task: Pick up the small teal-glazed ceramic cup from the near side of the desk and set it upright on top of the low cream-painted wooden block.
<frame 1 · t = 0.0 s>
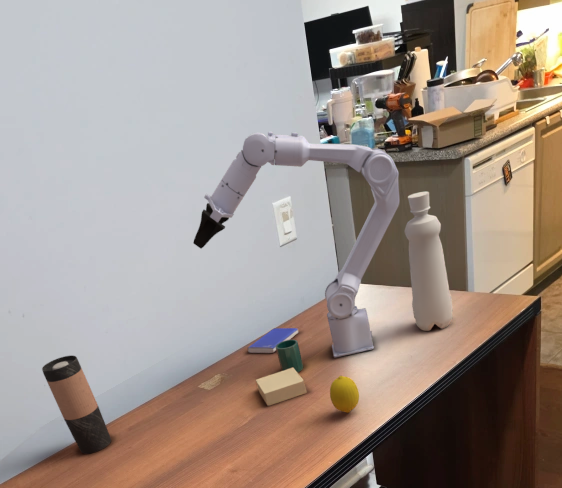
hand: (199, 241, 144), 32 cm above the table, tool tilted 50°, fingers open, 7 cm apart
bottle: (434, 325, 156), on the table
blue book: (274, 343, 173), on the table
block: (282, 392, 144), on the table
lemon: (348, 413, 129), on the table
travel mug: (96, 446, 144), on the table
cup: (292, 369, 154), on the table
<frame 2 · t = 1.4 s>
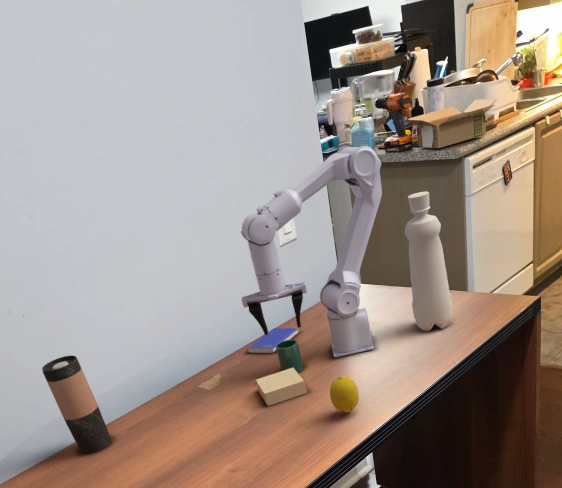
hand: (282, 329, 149), 10 cm above the table, tool pointing down, fingers open, 7 cm apart
nothing on the table moved.
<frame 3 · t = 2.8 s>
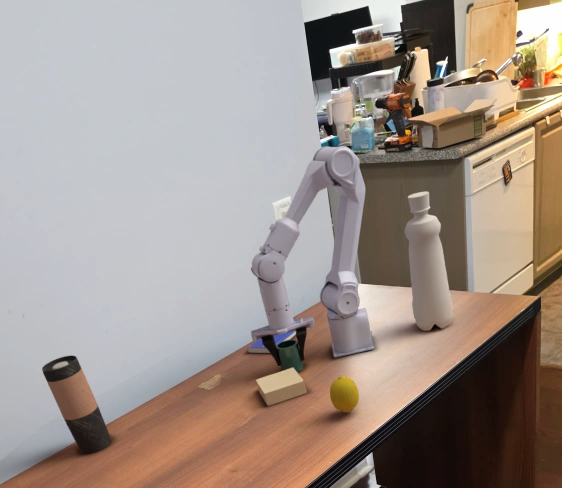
hand: (291, 361, 153), 2 cm above the table, tool pointing down, fingers closed on cup, 5 cm apart
cup: (293, 369, 154), on the table, touching gripper
everything else where it was.
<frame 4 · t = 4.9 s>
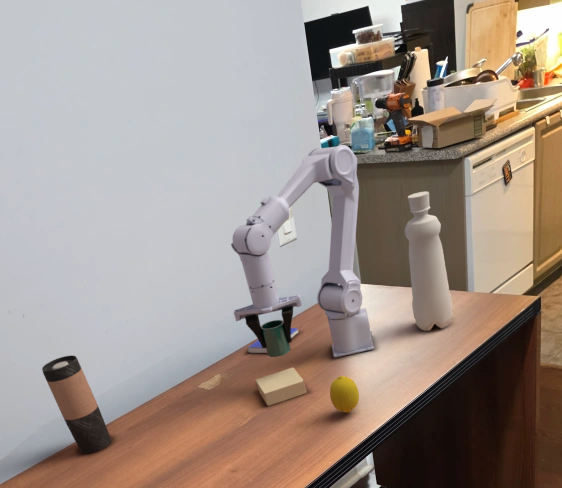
hand: (276, 343, 144), 9 cm above the table, tool pointing down, fingers closed on cup, 5 cm apart
cup: (279, 352, 145), point 7 cm above the table, touching gripper
everything else where it was.
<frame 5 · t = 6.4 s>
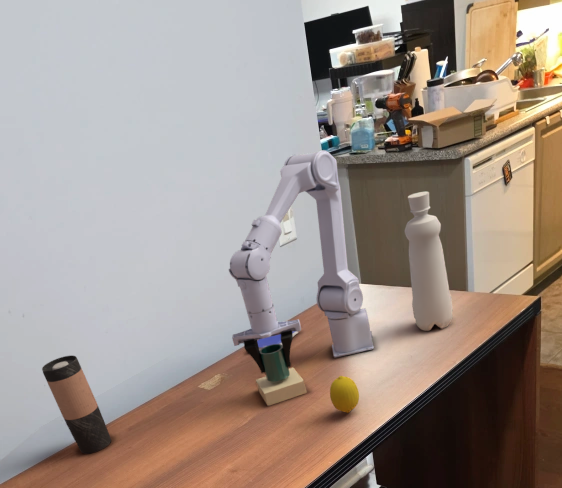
hand: (275, 368, 141), 6 cm above the table, tool pointing down, fingers closed on cup, 5 cm apart
cup: (278, 376, 142), point 4 cm above the table, touching gripper
everything else where it was.
when the fingers open (5 cm above the table, at t = 7.2 s): cup stays where it is, resting on block.
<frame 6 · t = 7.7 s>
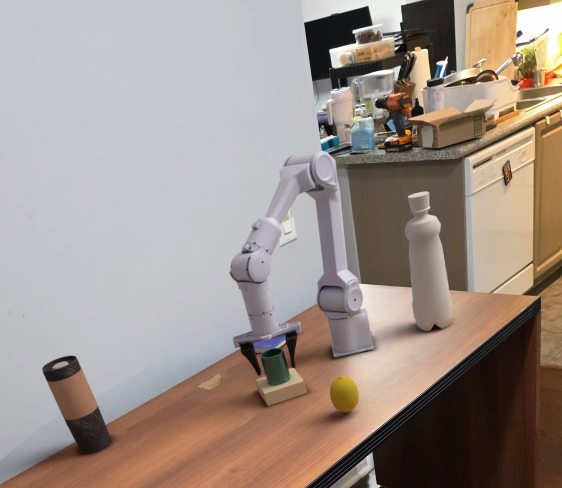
hand: (276, 370, 142), 5 cm above the table, tool pointing down, fingers open, 7 cm apart
block: (282, 392, 144), on the table, touching cup
cup: (279, 380, 143), point 3 cm above the table, touching block
everything else where it was.
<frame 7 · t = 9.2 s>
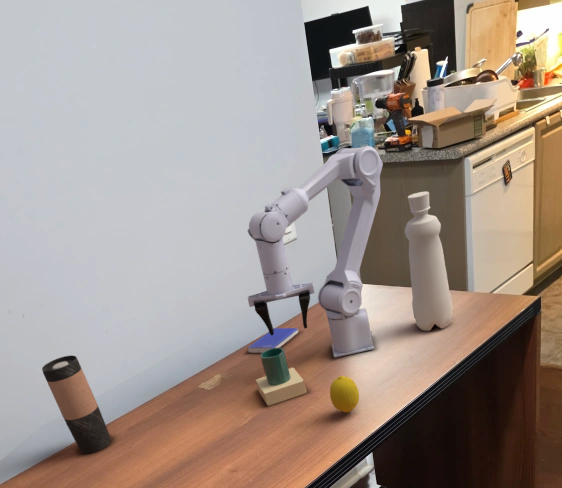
hand: (288, 330, 147), 10 cm above the table, tool pointing down, fingers open, 7 cm apart
nothing on the table moved.
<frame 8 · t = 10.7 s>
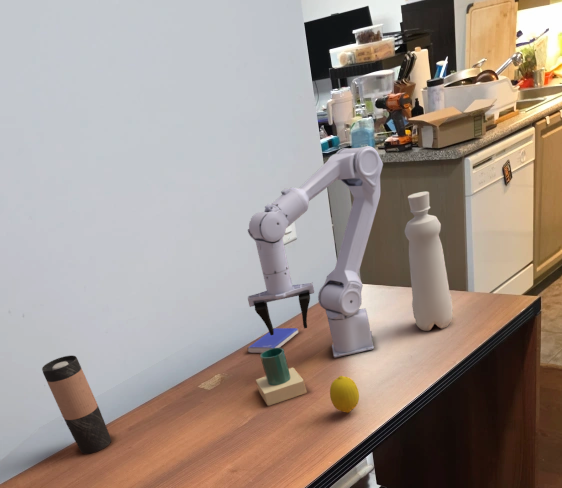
hand: (288, 330, 147), 10 cm above the table, tool pointing down, fingers open, 7 cm apart
nothing on the table moved.
at the end: cup 0.0 cm off-centre on the block, point 3.0 cm above the block's base; cup tilted 0°; the gripper is holding nothing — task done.
